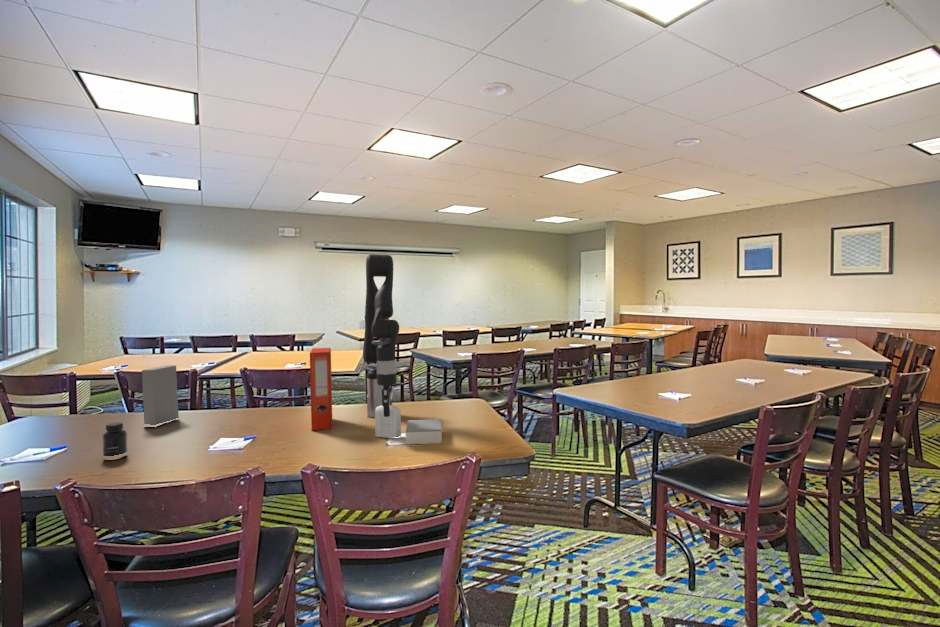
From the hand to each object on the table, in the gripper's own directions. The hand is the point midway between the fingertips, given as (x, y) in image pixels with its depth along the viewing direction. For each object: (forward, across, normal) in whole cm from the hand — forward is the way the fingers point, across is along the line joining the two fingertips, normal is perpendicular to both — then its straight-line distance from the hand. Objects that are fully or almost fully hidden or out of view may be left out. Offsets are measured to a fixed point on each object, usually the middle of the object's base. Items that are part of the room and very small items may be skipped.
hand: (388, 413), depth 186 cm
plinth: (+9, +3, +14) cm, 17 cm away
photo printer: (+9, 0, 0) cm, 9 cm away
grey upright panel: (+8, -34, -103) cm, 109 cm away
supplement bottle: (+9, +12, -93) cm, 94 cm away
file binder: (+9, -22, -30) cm, 39 cm away
